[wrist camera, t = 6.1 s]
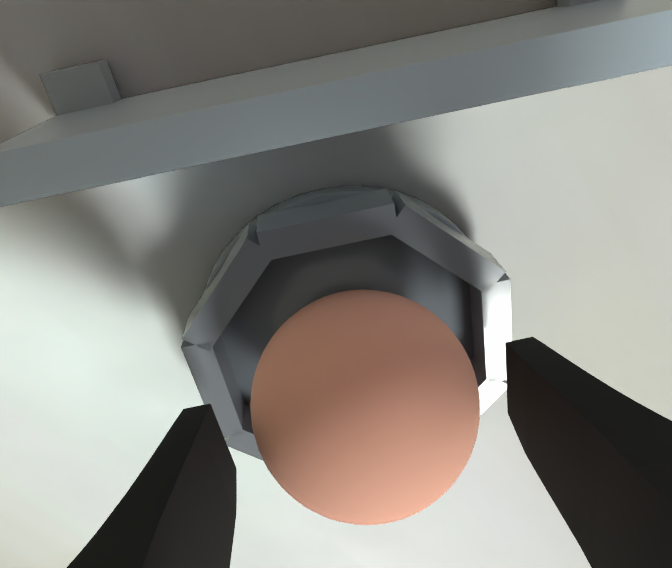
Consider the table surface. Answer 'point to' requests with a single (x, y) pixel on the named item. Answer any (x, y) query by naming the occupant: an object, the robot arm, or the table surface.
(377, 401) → the ball
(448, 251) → the slate dish
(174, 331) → the table surface
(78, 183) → the divider wall
